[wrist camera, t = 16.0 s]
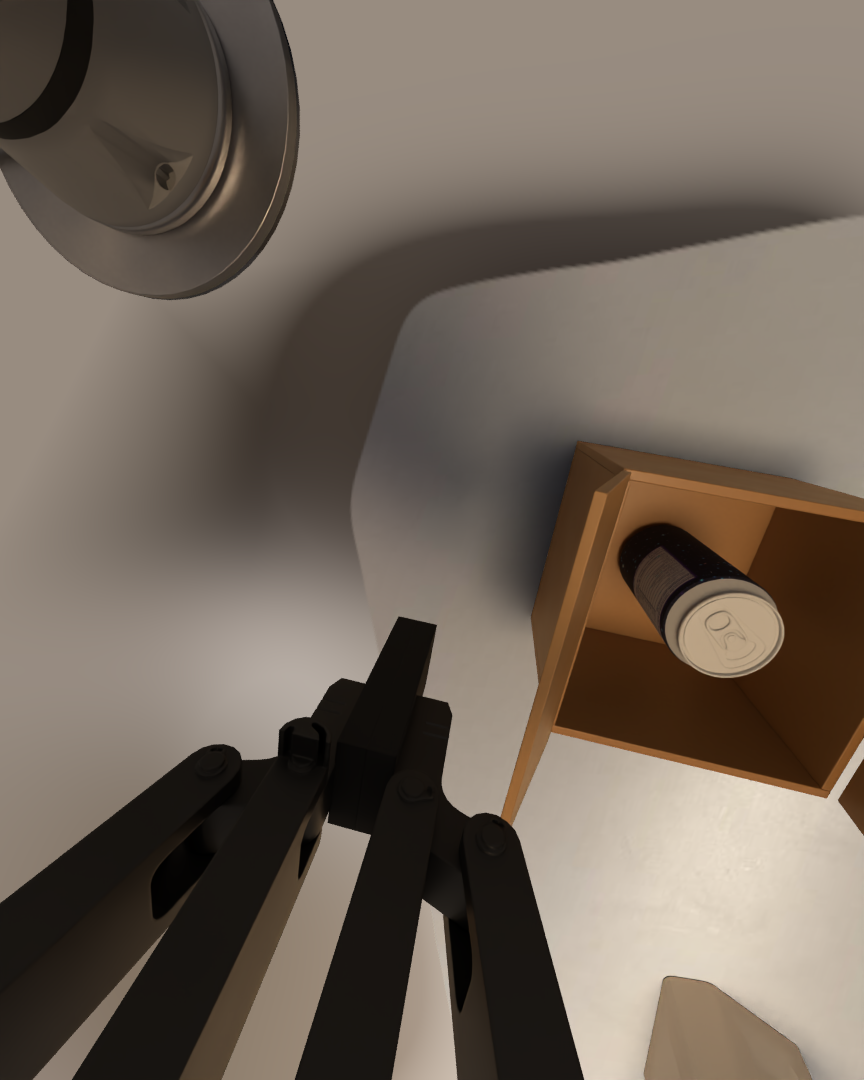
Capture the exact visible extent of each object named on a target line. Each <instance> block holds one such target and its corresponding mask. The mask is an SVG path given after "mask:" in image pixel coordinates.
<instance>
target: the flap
mask: <svg viewBox="0 0 864 1080" xmlns="http://www.w3.org/2000/svg"><path fill="white" fill-rule="evenodd" d="M630 476H631V472H628V471H621V472H620V473H618V474H617V475H616V476H614V477H613V478H612V479H610V480H609V481H608V482H606V483H605V484H603V485H602V486H601V487H599V488H598V489H597V490H595V491H594V494H593V498H592V501H591V505H590V508H589V511H588V515H587V518H586V522H585V525H584V529H583V532H582V536H581V539H580V543H579V546H578V550H577V553H576V557H575V560H574V564H573V567H572V571H571V574H570V578H569V581H568V585H567V588H566V591H565V595H564V598H563V602H562V605H561V609H560V612H559V616H558V619H557V623H556V626H555V630H554V633H553V637H552V640H551V644H550V647H549V651H548V654H547V658H546V661H545V665H544V668H543V671H542V675H541V678H540V682H539V685H538V689H537V692H536V696H535V699H534V703H533V706H532V710H531V713H530V717H529V720H528V724H527V727H526V731H525V734H524V738H523V741H522V744H521V748H520V751H519V755H518V758H517V762H516V765H515V769H514V772H513V776H512V779H511V783H510V786H509V790H508V793H507V797H506V800H505V804H504V807H503V811H502V814H501V818H502V819H504V820H506V821H507V822H508V823H509V824H510V825H511V826H512V824H513V822H514V820H515V817H516V815H517V812H518V810H519V808H520V805H521V803H522V801H523V798H524V796H525V794H526V791H527V789H528V787H529V784H530V782H531V779H532V777H533V775H534V772H535V770H536V768H537V765H538V763H539V761H540V758H541V756H542V753H543V751H544V749H545V746H546V744H547V742H548V739H549V736H550V733H551V729H552V726H553V723H554V720H555V717H556V713H557V710H558V707H559V704H560V701H561V697H562V694H563V691H564V688H565V685H566V681H567V678H568V675H569V672H570V668H571V665H572V662H573V659H574V656H575V652H576V649H577V646H578V643H579V640H580V636H581V633H582V630H583V627H584V624H585V620H586V617H587V614H588V611H589V607H590V604H591V601H592V598H593V595H594V591H595V588H596V585H597V582H598V579H599V575H600V572H601V569H602V566H603V563H604V559H605V556H606V553H607V550H608V547H609V543H610V540H611V537H612V534H613V530H614V527H615V524H616V521H617V518H618V514H619V511H620V508H621V505H622V502H623V498H624V495H625V492H626V489H627V486H628V482H629V479H630Z"/></svg>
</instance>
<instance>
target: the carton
mask: <svg viewBox="0 0 864 1080" xmlns="http://www.w3.org/2000/svg"><path fill="white" fill-rule="evenodd" d="M621 471H628V472H631V476H630V479H629V482H628V486H627V489H626V492H625V495H624V498H623V502H622V505H621V508H620V511H619V514H618V518H617V521H616V524H615V527H614V530H613V534H612V537H611V540H610V543H609V547H608V550H607V553H606V556H605V559H604V563H603V566H602V569H601V572H600V575H599V579H598V582H597V585H596V588H595V591H594V595H593V598H592V601H591V604H590V607H589V611H588V614H587V617H586V620H585V624H584V627H583V630H582V633H581V636H580V640H579V643H578V646H577V649H576V652H575V656H574V659H573V662H572V665H571V668H570V672H569V675H568V678H567V681H566V685H565V688H564V691H563V694H562V697H561V701H560V704H559V707H558V710H557V713H556V717H555V720H554V723H553V726H552V729H551V732H554V733H558V734H562V735H566V736H570V737H575V738H579V739H583V740H587V741H591V742H595V743H599V744H604V745H608V746H612V747H616V748H620V749H624V750H629V751H633V752H637V753H641V754H645V755H649V756H653V757H658V758H662V759H666V760H670V761H674V762H678V763H682V764H687V765H691V766H695V767H699V768H703V769H707V770H711V771H716V772H720V773H724V774H728V775H732V776H736V777H740V778H745V779H749V780H753V781H757V782H761V783H765V784H769V785H774V786H778V787H782V788H786V789H790V790H794V791H798V792H803V793H807V794H811V795H815V796H819V797H823V798H827V797H828V795H829V794H830V791H831V790H832V789H833V787H834V785H835V784H836V782H837V780H838V779H839V777H840V775H841V774H842V772H843V771H844V769H845V767H846V766H847V764H848V762H849V761H850V759H851V757H852V756H853V754H854V752H855V751H856V749H857V748H858V746H859V744H860V743H861V741H862V739H863V738H864V499H863V498H859V497H856V496H852V495H849V494H845V493H842V492H838V491H835V490H831V489H827V488H824V487H820V486H817V485H813V484H810V483H806V482H802V481H799V480H795V479H792V478H787V477H781V476H775V475H770V474H764V473H758V472H752V471H747V470H741V469H735V468H730V467H724V466H718V465H713V464H707V463H701V462H696V461H690V460H684V459H679V458H673V457H667V456H662V455H656V454H650V453H645V452H639V451H633V450H628V449H622V448H616V447H611V446H605V445H599V444H594V443H588V442H582V441H577V445H576V449H575V453H574V457H573V460H572V464H571V468H570V472H569V475H568V479H567V483H566V487H565V491H564V494H563V498H562V502H561V506H560V510H559V513H558V517H557V521H556V525H555V528H554V532H553V536H552V540H551V544H550V547H549V551H548V555H547V559H546V562H545V566H544V570H543V574H542V578H541V581H540V585H539V589H538V593H537V596H536V600H535V604H534V608H533V612H532V615H531V623H532V631H533V640H534V648H535V657H536V665H537V674H538V682H540V678H541V675H542V671H543V668H544V665H545V661H546V658H547V654H548V651H549V647H550V644H551V640H552V637H553V633H554V630H555V626H556V623H557V619H558V616H559V612H560V609H561V605H562V602H563V598H564V595H565V591H566V588H567V585H568V581H569V578H570V574H571V571H572V567H573V564H574V560H575V557H576V553H577V550H578V546H579V543H580V539H581V536H582V532H583V529H584V525H585V522H586V518H587V515H588V511H589V508H590V505H591V501H592V498H593V494H594V491H595V490H597V489H598V488H599V487H601V486H602V485H603V484H605V483H606V482H608V481H609V480H610V479H612V478H613V477H614V476H616V475H617V474H618V473H620V472H621ZM657 525H671V526H676V527H679V528H681V529H683V530H685V531H687V532H688V533H690V534H691V535H692V536H694V537H695V538H696V539H698V540H699V541H700V542H702V543H703V544H704V545H706V546H707V547H708V548H710V549H711V550H713V551H714V552H715V553H717V554H718V555H719V556H721V557H722V558H723V559H725V560H726V561H727V562H729V563H730V564H732V565H733V566H734V567H736V568H737V569H738V570H740V571H741V572H742V573H744V574H745V575H746V576H748V577H749V578H750V579H752V580H753V581H755V582H756V583H757V584H759V585H760V586H761V587H763V588H764V589H765V590H766V591H767V592H768V593H769V594H770V595H771V597H772V598H773V600H774V602H775V604H776V606H777V610H778V612H779V614H780V616H781V618H782V621H783V624H784V639H783V642H782V645H781V648H780V649H779V651H778V653H777V654H776V655H775V657H774V658H773V659H772V660H771V661H770V662H769V663H768V664H766V665H765V666H764V667H762V668H761V669H759V670H757V671H755V672H753V673H750V674H747V675H744V676H740V677H733V678H720V677H714V676H710V675H706V674H704V673H702V672H700V671H698V670H696V669H695V668H693V667H692V666H690V665H688V664H686V663H684V662H682V661H681V660H679V659H678V658H677V657H676V656H675V655H674V654H673V653H672V652H671V651H670V650H669V648H668V647H667V645H666V644H665V642H664V641H663V639H662V638H661V636H660V634H659V633H658V631H657V630H656V628H655V627H654V625H653V624H652V622H651V621H650V619H649V618H648V616H647V614H646V613H645V611H644V610H643V608H642V607H641V605H640V604H639V602H638V601H637V599H636V598H635V596H634V594H633V593H632V591H631V590H630V588H629V587H628V585H627V584H626V582H625V581H624V579H623V577H622V575H621V572H620V567H619V561H620V555H621V552H622V550H623V548H624V546H625V545H626V543H627V542H628V541H629V540H630V539H631V538H632V537H633V536H634V535H635V534H637V533H638V532H640V531H642V530H644V529H646V528H649V527H652V526H657ZM838 801H839V803H840V804H841V805H842V807H843V808H844V810H845V811H846V812H847V814H848V815H849V816H850V818H851V819H852V820H853V822H854V823H855V824H856V826H857V827H858V829H859V830H860V831H861V833H862V834H863V835H864V759H863V761H862V762H861V764H860V765H859V767H858V769H857V770H856V772H855V773H854V775H853V777H852V778H851V780H850V781H849V783H848V785H847V786H846V788H845V790H844V791H843V793H842V794H841V796H840V798H839V799H838Z"/></svg>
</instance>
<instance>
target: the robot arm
mask: <svg viewBox="0 0 864 1080" xmlns="http://www.w3.org/2000/svg"><path fill="white" fill-rule="evenodd" d="M231 130H232V97H231V87H230V80H229V75H228V69H227V65H226V61H225V57H224V54H223V51H222V48H221V45H220V42H219V39H218V37H217V34H216V32H215V29H214V27H213V25H212V23H211V21H210V19H209V17H208V15H207V13H206V12H205V10H204V8H203V7H202V5H201V3H200V2H199V0H0V148H2V149H3V150H4V151H5V152H6V153H7V154H8V155H10V156H11V157H12V158H13V159H14V160H15V161H17V162H18V163H19V164H20V165H21V166H22V167H23V168H25V169H26V170H27V171H28V172H29V173H30V174H31V175H33V176H34V177H35V178H36V179H37V180H38V181H40V182H41V183H42V184H43V185H44V186H45V187H47V188H48V189H49V190H50V191H51V192H52V193H53V194H54V195H56V196H57V197H58V198H59V199H61V200H62V201H63V202H64V203H66V204H67V205H69V206H70V207H72V208H74V209H75V210H76V211H78V212H79V213H81V214H83V215H84V216H86V217H88V218H90V219H92V220H94V221H96V222H98V223H101V224H103V225H105V226H108V227H110V228H112V229H115V230H118V231H121V232H124V233H128V234H133V235H154V234H160V233H164V232H167V231H170V230H172V229H174V228H176V227H179V226H180V225H182V224H183V223H185V222H187V221H188V220H189V219H190V218H191V217H193V216H194V215H195V214H196V213H197V212H198V211H199V210H200V209H201V208H202V207H203V205H204V204H205V203H206V201H207V200H208V199H209V197H210V196H211V194H212V192H213V191H214V189H215V187H216V185H217V183H218V181H219V179H220V176H221V174H222V171H223V168H224V165H225V162H226V158H227V155H228V150H229V145H230V138H231ZM436 627H437V625H435V624H430V623H426V622H422V621H417V620H413V619H408V618H404V617H398V619H397V621H396V623H395V625H394V627H393V629H392V631H391V633H390V635H389V637H388V639H387V641H386V643H385V645H384V647H383V649H382V651H381V653H380V655H379V657H378V659H377V661H376V663H375V666H374V668H373V669H372V672H371V673H370V676H369V678H368V680H367V682H366V684H364V683H360V682H355V681H352V680H348V679H344V678H341V679H340V680H338V681H337V682H335V683H334V684H332V685H331V686H330V687H329V688H328V690H327V692H326V694H325V695H324V697H323V699H322V700H321V702H320V703H319V705H318V707H317V709H316V710H315V711H314V713H313V715H312V716H311V718H310V717H303V718H297V719H294V720H292V721H290V722H288V723H286V724H285V725H284V726H283V727H282V728H281V729H280V730H279V743H278V756H277V757H273V758H270V759H262V760H242V759H241V755H240V753H239V752H238V751H237V750H236V749H235V748H234V747H231V746H228V745H224V744H219V745H210V746H207V747H203V748H201V749H199V750H198V751H196V752H194V753H192V754H191V755H190V756H188V757H187V758H186V759H185V760H183V761H182V762H181V763H179V764H178V765H177V766H176V767H174V768H173V769H172V770H171V771H169V772H168V773H167V774H165V775H164V776H163V777H162V778H160V779H159V780H158V781H157V782H155V783H154V784H153V785H151V786H150V787H149V788H148V789H146V790H145V791H144V792H142V793H141V794H140V795H138V796H137V797H136V798H135V799H133V800H132V801H131V802H130V803H128V804H127V805H126V806H124V807H123V808H122V809H121V810H119V811H118V812H117V813H115V814H114V815H113V816H112V817H110V818H109V819H108V820H107V821H105V822H104V823H103V824H101V825H100V826H99V827H97V828H96V829H95V830H94V831H92V832H91V833H90V834H88V835H87V836H86V837H85V838H83V839H82V840H81V841H79V842H78V843H77V844H76V845H74V846H73V847H72V848H70V850H68V851H67V852H66V853H64V854H63V855H62V856H60V857H59V858H58V859H57V860H55V861H54V862H53V863H51V864H50V865H49V866H48V867H46V868H45V869H44V870H43V871H41V872H40V873H38V874H37V875H36V876H35V877H33V878H32V879H31V880H29V881H28V882H27V883H26V884H24V885H23V886H22V887H20V888H19V889H18V890H17V891H15V892H14V893H13V894H12V895H10V896H9V897H8V898H6V899H5V900H4V901H3V902H1V903H0V1080H33V1078H34V1077H35V1076H36V1075H37V1074H38V1073H39V1072H40V1071H41V1069H42V1068H43V1067H44V1066H45V1065H46V1064H47V1063H48V1062H49V1060H50V1059H51V1058H52V1057H53V1056H54V1055H55V1054H56V1053H57V1051H58V1050H59V1049H60V1048H61V1047H62V1046H63V1045H64V1044H65V1043H66V1041H67V1040H68V1039H69V1038H70V1037H71V1036H72V1034H73V1033H74V1032H75V1031H76V1030H77V1029H78V1028H79V1027H80V1026H81V1024H82V1023H83V1022H84V1021H85V1020H86V1019H87V1018H88V1017H89V1016H90V1014H91V1013H92V1012H93V1011H94V1010H95V1009H96V1008H97V1006H98V1005H99V1004H100V1003H101V1002H102V1001H103V1000H104V999H105V998H106V997H107V995H108V994H109V993H110V992H111V991H112V990H113V989H114V987H115V986H116V985H117V984H118V983H119V982H120V981H121V980H122V979H123V977H124V976H125V975H126V974H127V973H128V972H129V971H130V970H131V968H132V967H133V966H134V965H135V964H136V963H137V961H139V959H140V958H141V957H142V956H143V955H144V954H145V953H146V952H147V950H148V949H149V948H150V947H151V946H152V945H153V944H154V943H155V941H156V940H157V939H158V938H159V937H160V936H161V935H162V934H163V933H164V931H165V930H166V929H167V928H168V927H169V928H168V929H167V931H166V932H165V934H164V936H163V937H162V939H161V940H160V942H159V943H158V945H157V947H156V948H155V950H154V951H153V953H152V954H151V956H150V958H149V959H148V961H147V962H146V964H145V965H144V967H143V969H142V970H141V972H140V973H139V975H138V977H137V978H136V980H135V981H134V983H133V984H132V986H131V987H130V989H129V991H128V992H127V994H126V995H125V997H124V998H123V1000H122V1002H121V1003H120V1005H119V1006H118V1008H117V1009H116V1011H115V1013H114V1014H113V1016H112V1017H111V1019H110V1021H109V1022H108V1024H107V1025H106V1027H105V1028H104V1030H103V1031H102V1033H101V1035H100V1036H99V1038H98V1039H97V1041H96V1043H95V1044H94V1046H93V1047H92V1049H91V1050H90V1052H89V1053H88V1055H87V1057H86V1058H85V1060H84V1061H83V1063H82V1064H81V1066H80V1068H79V1069H78V1071H77V1072H76V1074H75V1076H74V1077H73V1079H72V1080H221V1079H222V1077H223V1075H224V1072H225V1070H226V1067H227V1065H228V1062H229V1060H230V1058H231V1055H232V1053H233V1051H234V1048H235V1046H236V1043H237V1041H238V1038H239V1036H240V1033H241V1031H242V1029H243V1026H244V1024H245V1022H246V1019H247V1017H248V1014H249V1012H250V1010H251V1007H252V1004H253V1002H254V1000H255V998H256V995H257V993H258V990H259V988H260V985H261V983H262V981H263V978H264V976H265V973H266V971H267V969H268V966H269V964H270V962H271V959H272V957H273V954H274V952H275V950H276V947H277V944H278V942H279V940H280V937H281V935H282V933H283V930H284V928H285V925H286V923H287V920H288V918H289V916H290V913H291V911H292V909H293V906H294V903H295V901H296V899H297V896H298V894H299V892H300V889H301V887H302V885H303V882H304V880H305V877H306V875H307V873H308V870H309V868H310V865H311V863H312V861H313V858H314V856H315V853H316V851H317V848H318V846H319V843H320V839H321V832H322V826H323V824H324V821H325V819H326V817H327V814H328V812H329V816H328V823H330V824H334V825H337V826H341V827H344V828H348V829H352V830H355V831H359V832H363V833H366V834H370V835H371V837H370V840H369V843H368V847H367V850H366V853H365V856H364V859H363V862H362V866H361V869H360V872H359V875H358V879H357V882H356V885H355V888H354V891H353V894H352V898H351V901H350V904H349V907H348V910H347V914H346V917H345V920H344V923H343V926H342V930H341V933H340V936H339V940H338V942H337V946H336V949H335V952H334V955H333V959H332V962H331V965H330V968H329V972H328V975H327V978H326V981H325V984H324V987H323V991H322V994H321V997H320V1000H319V1003H318V1007H317V1010H316V1013H315V1017H314V1020H313V1023H312V1026H311V1029H310V1032H309V1035H308V1039H307V1042H306V1045H305V1048H304V1051H303V1055H302V1058H301V1061H300V1064H299V1068H298V1071H297V1074H296V1078H295V1080H391V1079H392V1073H393V1067H394V1061H395V1056H396V1050H397V1044H398V1038H399V1032H400V1026H401V1021H402V1015H403V1008H404V1003H405V996H406V991H407V985H408V979H409V973H410V967H411V962H412V955H413V950H414V944H415V938H416V932H417V926H418V920H419V914H420V909H421V903H422V899H423V900H425V901H426V902H428V903H429V904H430V905H432V906H433V907H434V908H436V909H437V910H438V911H440V912H441V913H442V914H443V919H444V931H445V942H446V953H447V965H448V976H449V987H450V999H451V1010H452V1022H453V1033H454V1044H455V1055H456V1066H457V1078H458V1080H584V1077H583V1074H582V1070H581V1066H580V1062H579V1059H578V1055H577V1051H576V1048H575V1044H574V1040H573V1036H572V1033H571V1029H570V1025H569V1022H568V1018H567V1014H566V1010H565V1007H564V1003H563V999H562V996H561V992H560V988H559V984H558V981H557V977H556V973H555V970H554V966H553V962H552V958H551V955H550V951H549V947H548V944H547V940H546V936H545V932H544V929H543V925H542V921H541V918H540V914H539V910H538V906H537V903H536V899H535V895H534V892H533V888H532V884H531V880H530V877H529V873H528V869H527V866H526V862H525V858H524V854H523V851H522V847H521V843H520V840H519V838H518V836H517V834H516V831H515V830H514V829H513V828H512V826H511V825H510V824H509V823H508V822H507V821H506V820H504V819H502V818H501V817H499V816H497V815H494V814H489V813H481V814H476V815H474V816H473V817H471V818H470V817H468V816H466V815H465V814H463V813H462V812H460V811H459V810H457V809H456V808H455V807H453V806H452V805H451V804H450V802H449V801H448V800H447V799H446V797H445V795H444V793H443V789H442V786H441V785H442V774H443V768H444V762H445V756H446V750H447V744H448V738H449V732H450V726H451V720H452V713H451V710H450V707H449V705H448V703H447V702H443V701H439V700H435V699H431V698H427V697H422V696H423V692H424V689H425V685H426V680H427V675H428V669H429V664H430V659H431V653H432V648H433V643H434V637H435V632H436Z"/></svg>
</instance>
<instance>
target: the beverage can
mask: <svg viewBox="0 0 864 1080" xmlns="http://www.w3.org/2000/svg"><path fill="white" fill-rule="evenodd" d="M619 567H620V572H621V575H622V577H623V579H624V581H625V582H626V584H627V585H628V587H629V588H630V590H631V591H632V593H633V594H634V596H635V598H636V599H637V601H638V602H639V604H640V605H641V607H642V608H643V610H644V611H645V613H646V614H647V616H648V618H649V619H650V621H651V622H652V624H653V625H654V627H655V628H656V630H657V631H658V633H659V634H660V636H661V638H662V639H663V641H664V642H665V644H666V645H667V647H668V648H669V650H670V651H671V652H672V653H673V654H674V655H675V656H676V657H677V658H678V659H679V660H681V661H682V662H684V663H686V664H688V665H690V666H692V667H693V668H695V669H696V670H698V671H700V672H702V673H704V674H706V675H710V676H714V677H720V678H733V677H740V676H744V675H747V674H750V673H753V672H755V671H757V670H759V669H761V668H762V667H764V666H765V665H766V664H768V663H769V662H770V661H771V660H772V659H773V658H774V657H775V655H776V654H777V653H778V651H779V649H780V648H781V645H782V642H783V639H784V624H783V621H782V618H781V616H780V614H779V612H778V610H777V606H776V604H775V602H774V600H773V598H772V597H771V595H770V594H769V593H768V592H767V591H766V590H765V589H764V588H763V587H761V586H760V585H759V584H757V583H756V582H755V581H753V580H752V579H750V578H749V577H748V576H746V575H745V574H744V573H742V572H741V571H740V570H738V569H737V568H736V567H734V566H733V565H732V564H730V563H729V562H727V561H726V560H725V559H723V558H722V557H721V556H719V555H718V554H717V553H715V552H714V551H713V550H711V549H710V548H708V547H707V546H706V545H704V544H703V543H702V542H700V541H699V540H698V539H696V538H695V537H694V536H692V535H691V534H690V533H688V532H687V531H685V530H683V529H681V528H679V527H676V526H671V525H657V526H652V527H649V528H646V529H644V530H642V531H640V532H638V533H637V534H635V535H634V536H633V537H632V538H631V539H630V540H629V541H628V542H627V543H626V545H625V546H624V548H623V550H622V552H621V555H620V561H619Z"/></svg>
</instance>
